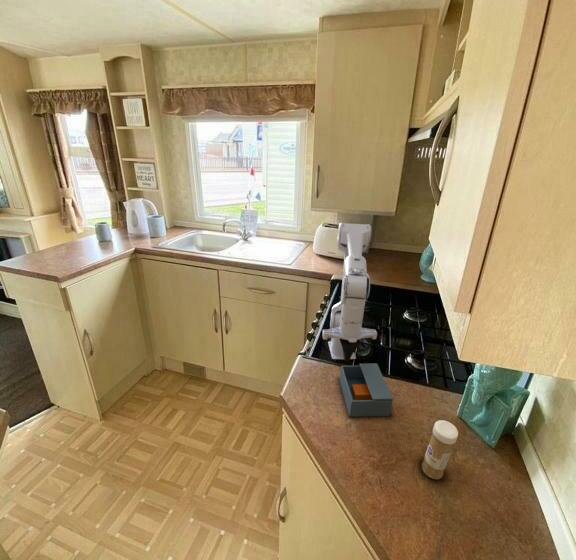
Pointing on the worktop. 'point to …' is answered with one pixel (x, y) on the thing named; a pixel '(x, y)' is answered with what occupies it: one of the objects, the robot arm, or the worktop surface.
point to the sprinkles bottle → (439, 449)
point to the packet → (361, 392)
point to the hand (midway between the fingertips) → (346, 358)
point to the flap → (375, 382)
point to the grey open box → (360, 407)
